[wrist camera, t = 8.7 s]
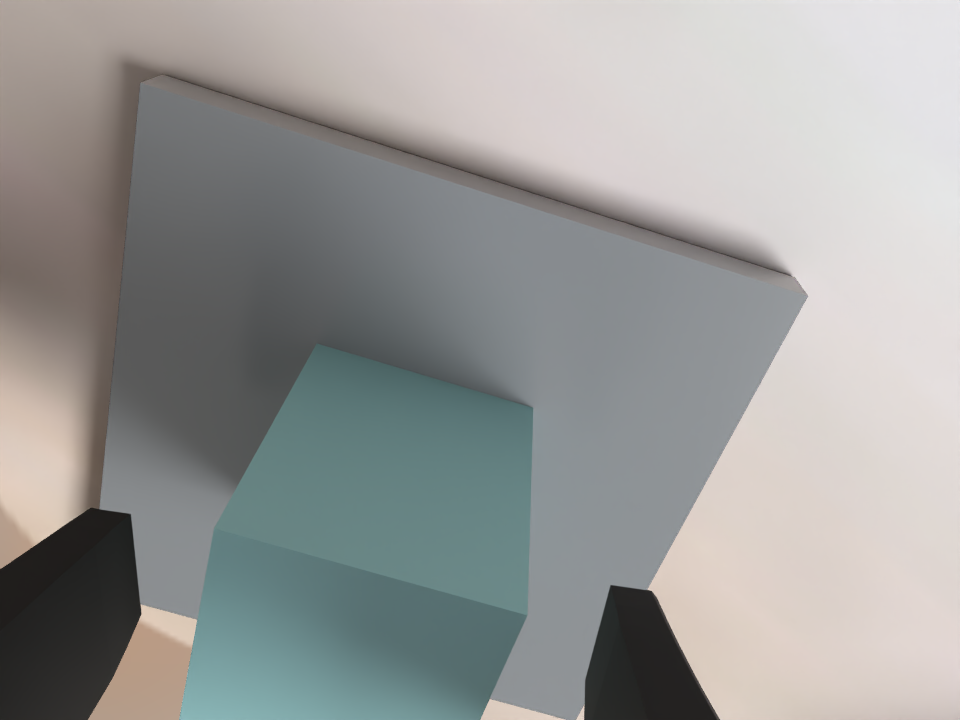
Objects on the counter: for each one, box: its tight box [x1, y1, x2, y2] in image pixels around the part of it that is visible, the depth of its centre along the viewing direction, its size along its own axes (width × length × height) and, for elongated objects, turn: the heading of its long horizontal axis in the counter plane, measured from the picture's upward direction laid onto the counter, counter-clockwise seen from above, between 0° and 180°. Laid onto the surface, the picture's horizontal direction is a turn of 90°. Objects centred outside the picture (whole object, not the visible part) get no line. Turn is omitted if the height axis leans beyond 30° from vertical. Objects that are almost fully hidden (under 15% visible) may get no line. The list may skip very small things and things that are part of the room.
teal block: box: [179, 344, 533, 720], centre depth 13 cm, size 4×4×5 cm
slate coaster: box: [99, 74, 808, 720], centre depth 16 cm, size 11×11×1 cm
